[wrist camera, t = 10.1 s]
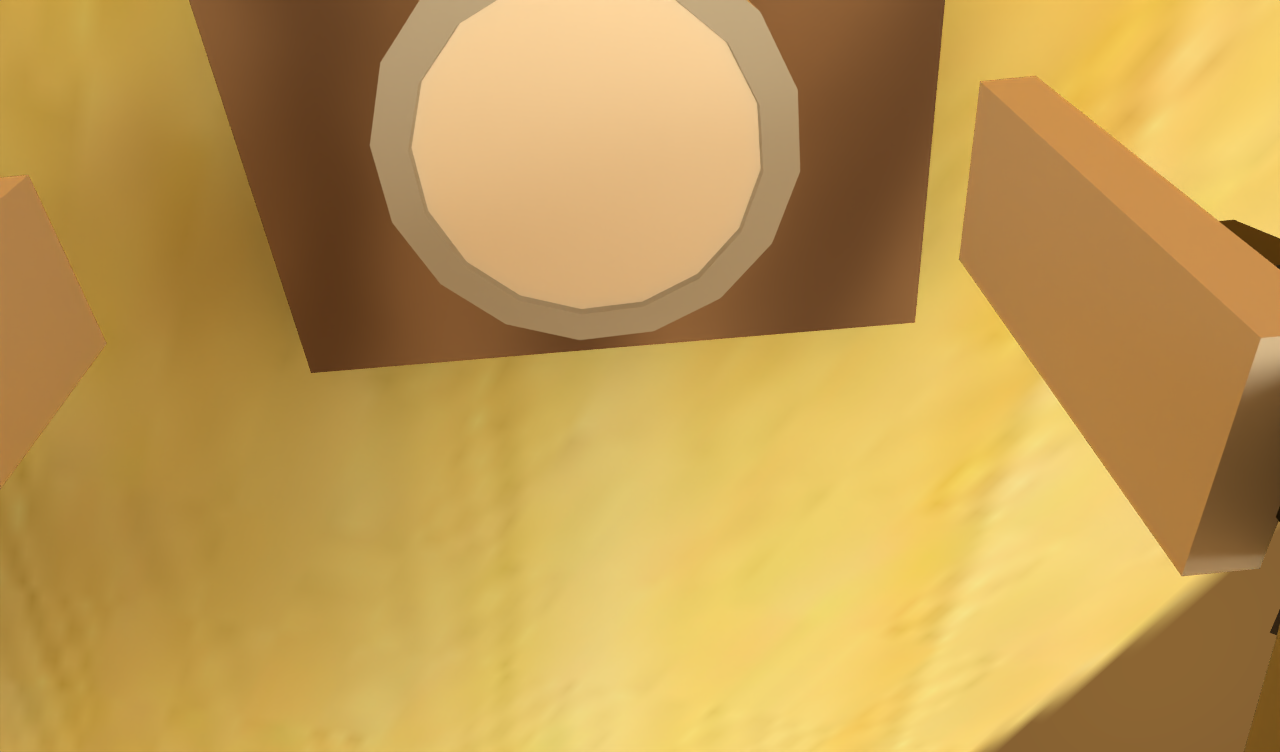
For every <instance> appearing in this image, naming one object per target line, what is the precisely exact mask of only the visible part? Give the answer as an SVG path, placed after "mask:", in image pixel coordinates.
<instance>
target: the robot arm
mask: <svg viewBox="0 0 1280 752" xmlns="http://www.w3.org/2000/svg"><path fill="white" fill-rule="evenodd" d="M959 260H960V261H961V263H962V264H963V266H964V267H965V268H966V270H967V271H968V273H969V274H970V276H971V277H972V278H973V280H974V281H975V283H976V284H977V286H978V287H979V288H980V290H981V291H982V293H983V294H984V295H985V297H986V298H987V300H988V301H989V303H990V304H991V305H992V307H993V308H994V310H995V311H996V313H997V314H998V315H999V317H1000V318H1001V320H1002V321H1003V323H1004V324H1005V325H1006V327H1007V328H1008V330H1009V331H1010V332H1011V334H1012V335H1013V337H1014V338H1015V340H1016V341H1017V342H1018V344H1019V345H1020V347H1021V348H1022V350H1023V351H1024V352H1025V354H1026V355H1027V357H1028V358H1029V360H1030V361H1031V362H1032V364H1033V365H1034V367H1035V368H1036V369H1037V371H1038V372H1039V374H1040V375H1041V377H1042V378H1043V379H1044V381H1045V382H1046V384H1047V385H1048V387H1049V388H1050V389H1051V391H1052V392H1053V394H1054V395H1055V397H1056V398H1057V399H1058V401H1059V402H1060V404H1061V405H1062V406H1063V408H1064V409H1065V411H1066V412H1067V414H1068V415H1069V416H1070V418H1071V419H1072V421H1073V422H1074V424H1075V425H1076V426H1077V428H1078V429H1079V431H1080V432H1081V434H1082V435H1083V436H1084V438H1085V439H1086V441H1087V442H1088V443H1089V445H1090V446H1091V448H1092V449H1093V451H1094V452H1095V453H1096V455H1097V456H1098V458H1099V459H1100V461H1101V462H1102V463H1103V465H1104V466H1105V468H1106V469H1107V470H1108V472H1109V473H1110V475H1111V476H1112V478H1113V479H1114V480H1115V482H1116V483H1117V485H1118V486H1119V488H1120V489H1121V490H1122V492H1123V493H1124V495H1125V496H1126V498H1127V499H1128V500H1129V502H1130V503H1131V505H1132V506H1133V507H1134V509H1135V510H1136V512H1137V513H1138V515H1139V516H1140V517H1141V519H1142V520H1143V522H1144V523H1145V525H1146V526H1147V527H1148V529H1149V530H1150V532H1151V533H1152V535H1153V536H1154V537H1155V539H1156V540H1157V542H1158V543H1159V544H1160V546H1161V547H1162V549H1163V550H1164V552H1165V553H1166V554H1167V556H1168V557H1169V559H1170V560H1171V562H1172V563H1173V564H1174V566H1175V567H1176V569H1177V570H1178V572H1179V573H1180V574H1181V576H1189V575H1199V574H1209V573H1219V572H1229V571H1239V570H1249V569H1258V568H1260V567H1261V564H1262V561H1263V559H1264V557H1265V554H1266V551H1267V549H1268V546H1269V544H1270V541H1271V538H1272V536H1273V534H1274V531H1275V529H1276V526H1277V524H1278V521H1279V522H1280V239H1279V238H1277V237H1274V236H1272V235H1270V234H1267V233H1265V232H1262V231H1260V230H1257V229H1255V228H1253V227H1250V226H1248V225H1245V224H1243V223H1240V222H1238V221H1236V220H1227V221H1218V220H1217V219H1215V218H1214V217H1213V216H1212V215H1210V214H1209V213H1208V212H1206V211H1205V210H1204V209H1203V208H1201V207H1200V206H1199V205H1198V204H1196V203H1195V202H1194V201H1193V200H1191V199H1190V198H1189V197H1188V196H1186V195H1185V194H1184V193H1183V192H1181V191H1180V190H1179V189H1178V188H1176V187H1175V186H1174V185H1172V184H1171V183H1170V182H1169V181H1167V180H1166V179H1165V178H1164V177H1162V176H1161V175H1160V174H1159V173H1157V172H1156V171H1155V170H1154V169H1152V168H1151V167H1150V166H1149V165H1147V164H1146V163H1145V162H1144V161H1142V160H1141V159H1140V158H1138V157H1137V156H1136V155H1135V154H1133V153H1132V152H1131V151H1130V150H1128V149H1127V148H1126V147H1125V146H1123V145H1122V144H1121V143H1120V142H1118V141H1117V140H1116V139H1115V138H1113V137H1112V136H1111V135H1109V134H1108V133H1107V132H1106V131H1104V130H1103V129H1102V128H1101V127H1099V126H1098V125H1097V124H1096V123H1094V122H1093V121H1092V120H1091V119H1089V118H1088V117H1087V116H1086V115H1084V114H1083V113H1082V112H1081V111H1079V110H1078V109H1077V108H1075V107H1074V106H1073V105H1072V104H1070V103H1069V102H1068V101H1067V100H1065V99H1064V98H1063V97H1062V96H1060V95H1059V94H1058V93H1057V92H1055V91H1054V90H1053V89H1052V88H1050V87H1049V86H1048V85H1046V84H1045V83H1044V82H1043V81H1041V80H1040V79H1039V78H1038V77H1036V76H1030V77H1019V78H1009V79H999V80H989V81H980V88H979V96H978V105H977V113H976V122H975V130H974V138H973V147H972V155H971V164H970V172H969V181H968V189H967V197H966V206H965V214H964V223H963V231H962V240H961V248H960V256H959ZM105 345H106V341H105V339H104V337H103V335H102V333H101V331H100V328H99V326H98V324H97V322H96V320H95V318H94V316H93V313H92V311H91V309H90V307H89V305H88V303H87V300H86V298H85V296H84V294H83V292H82V290H81V287H80V285H79V283H78V281H77V279H76V277H75V274H74V272H73V270H72V268H71V266H70V264H69V262H68V259H67V257H66V255H65V253H64V251H63V249H62V246H61V244H60V242H59V240H58V238H57V236H56V233H55V231H54V229H53V227H52V225H51V223H50V221H49V218H48V216H47V214H46V212H45V210H44V208H43V205H42V203H41V201H40V199H39V197H38V195H37V192H36V190H35V188H34V186H33V184H32V182H31V179H30V177H29V175H22V176H11V177H1V178H0V489H1V488H2V486H3V485H4V483H5V482H6V481H7V479H8V478H9V477H10V475H11V474H12V472H13V471H14V470H15V468H16V467H17V466H18V464H19V463H20V461H21V460H22V459H23V457H24V456H25V455H26V453H27V452H28V451H29V449H30V448H31V446H32V445H33V444H34V442H35V441H36V440H37V438H38V437H39V435H40V434H41V433H42V431H43V430H44V429H45V427H46V426H47V424H48V423H49V422H50V420H51V419H52V418H53V416H54V415H55V414H56V412H57V411H58V409H59V408H60V407H61V405H62V404H63V403H64V401H65V400H66V398H67V397H68V396H69V394H70V393H71V392H72V390H73V389H74V387H75V386H76V385H77V383H78V382H79V381H80V379H81V378H82V376H83V375H84V374H85V372H86V371H87V370H88V368H89V367H90V366H91V364H92V363H93V361H94V360H95V359H96V357H97V356H98V355H99V353H100V352H101V350H102V349H103V348H104V346H105ZM1270 633H1272V634H1275V635H1277V637H1276V641H1275V644H1274V647H1273V651H1272V654H1271V658H1270V661H1269V665H1268V668H1267V672H1266V675H1265V679H1264V682H1263V686H1262V689H1261V693H1260V696H1259V700H1258V704H1257V707H1256V710H1255V714H1254V718H1253V721H1252V725H1251V728H1250V732H1249V735H1248V739H1247V742H1246V746H1245V749H1244V752H1280V610H1279V613H1278V615H1277V618H1276V620H1275V622H1274V625H1273V627H1272V629H1271V631H1270Z"/></svg>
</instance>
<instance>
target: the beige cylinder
mask: <svg viewBox="0 0 1280 752" xmlns="http://www.w3.org/2000/svg"><path fill="white" fill-rule="evenodd" d="M370 148H371V152H372V155H373V158H374V162H375V165H376V169H377V172H378V176H379V179H380V182H381V186H382V189H383V193H384V196H385V200H386V203H387V206H388V210H389V213H390V217H391V220H392V223H393V224H394V225H395V227H396V228H397V229H398V231H399V232H400V233H401V234H402V236H403V237H404V238H405V239H406V241H407V242H408V243H409V245H410V246H411V247H412V248H413V250H414V251H415V252H416V253H417V255H418V256H419V257H420V259H421V260H422V261H423V262H424V264H425V265H426V266H427V268H428V269H429V270H430V271H431V273H432V274H433V275H434V276H435V278H436V279H437V280H438V282H439V283H440V284H441V285H443V286H444V287H446V288H448V289H449V290H451V291H453V292H454V293H456V294H457V295H459V296H461V297H462V298H464V299H466V300H467V301H469V302H471V303H472V304H474V305H475V306H477V307H479V308H480V309H482V310H484V311H485V312H487V313H488V314H490V315H492V316H493V317H495V318H497V319H498V320H500V321H501V322H503V323H505V324H507V325H512V326H517V327H521V328H526V329H530V330H535V331H540V332H544V333H549V334H553V335H558V336H563V337H567V338H572V339H577V340H585V339H593V338H602V337H610V336H618V335H627V334H635V333H644V332H652V331H655V330H657V329H659V328H661V327H663V326H665V325H667V324H669V323H671V322H674V321H676V320H678V319H680V318H682V317H684V316H686V315H688V314H690V313H692V312H694V311H696V310H698V309H700V308H702V307H704V306H706V305H708V304H710V303H712V302H714V301H716V300H718V299H720V298H721V297H722V296H723V295H724V294H725V293H726V292H727V291H728V290H729V289H730V288H731V287H732V285H733V284H734V283H735V282H736V281H737V280H738V279H739V278H740V277H741V276H742V275H743V274H744V273H745V272H746V271H747V270H748V268H749V267H750V266H751V265H752V264H753V263H754V262H755V261H756V260H757V259H758V258H759V257H760V256H761V255H762V254H763V252H764V251H765V250H766V249H767V248H768V247H769V246H770V245H771V244H772V242H773V240H774V237H775V235H776V232H777V229H778V227H779V224H780V222H781V219H782V217H783V214H784V211H785V209H786V206H787V204H788V201H789V199H790V196H791V194H792V191H793V188H794V186H795V183H796V181H797V178H798V176H799V173H800V147H799V115H798V89H797V87H796V85H795V83H794V81H793V79H792V77H791V75H790V73H789V71H788V69H787V66H786V64H785V62H784V60H783V58H782V56H781V54H780V52H779V50H778V48H777V46H776V43H775V41H774V39H773V37H772V35H771V33H770V31H769V29H768V27H767V25H766V23H765V20H764V18H763V16H762V14H761V12H760V11H759V10H758V9H757V8H756V7H755V6H754V5H753V4H752V3H751V2H750V1H749V0H419V2H418V4H417V5H416V7H415V8H414V10H413V12H412V13H411V15H410V16H409V18H408V19H407V21H406V23H405V24H404V26H403V27H402V29H401V31H400V32H399V34H398V35H397V37H396V39H395V40H394V42H393V43H392V45H391V47H390V48H389V50H388V51H387V53H386V54H385V56H384V58H383V59H382V61H381V62H380V69H379V77H378V85H377V93H376V100H375V108H374V116H373V124H372V132H371V139H370Z"/></svg>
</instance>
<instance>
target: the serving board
mask: <svg viewBox="0 0 1280 752" xmlns="http://www.w3.org/2000/svg"><path fill="white" fill-rule="evenodd" d="M749 1H750V2H751V3H752V4H753V5H754V6H755V7H756V8H757V9H758V10H759V11H760V12H761V14H762V16H763V18H764V20H765V23H766V25H767V27H768V29H769V31H770V33H771V35H772V37H773V39H774V41H775V43H776V46H777V48H778V50H779V52H780V54H781V56H782V58H783V60H784V62H785V64H786V66H787V69H788V71H789V73H790V75H791V77H792V79H793V81H794V83H795V85H796V87H797V89H798V115H799V147H800V173H799V176H798V178H797V181H796V183H795V186H794V188H793V191H792V194H791V196H790V199H789V201H788V204H787V206H786V209H785V211H784V214H783V217H782V219H781V222H780V224H779V227H778V229H777V232H776V235H775V237H774V240H773V242H772V244H771V245H770V246H769V247H768V248H767V249H766V250H765V251H764V252H763V254H762V255H761V256H760V257H759V258H758V259H757V260H756V261H755V262H754V263H753V264H752V265H751V266H750V267H749V268H748V270H747V271H746V272H745V273H744V274H743V275H742V276H741V277H740V278H739V279H738V280H737V281H736V282H735V283H734V284H733V285H732V287H731V288H730V289H729V290H728V291H727V292H726V293H725V294H724V295H723V296H722V297H721V298H720V299H718V300H716V301H714V302H712V303H710V304H708V305H706V306H704V307H702V308H700V309H698V310H696V311H694V312H692V313H690V314H688V315H686V316H684V317H682V318H680V319H678V320H676V321H674V322H671V323H669V324H667V325H665V326H663V327H661V328H659V329H657V330H655V331H652V332H644V333H635V334H627V335H618V336H610V337H602V338H593V339H585V340H577V339H572V338H567V337H563V336H558V335H553V334H549V333H544V332H540V331H535V330H530V329H526V328H521V327H517V326H512V325H507V324H505V323H503V322H501V321H500V320H498V319H497V318H495V317H493V316H492V315H490V314H488V313H487V312H485V311H484V310H482V309H480V308H479V307H477V306H475V305H474V304H472V303H471V302H469V301H467V300H466V299H464V298H462V297H461V296H459V295H457V294H456V293H454V292H453V291H451V290H449V289H448V288H446V287H444V286H443V285H441V284H440V283H439V282H438V280H437V279H436V278H435V276H434V275H433V274H432V273H431V271H430V270H429V269H428V268H427V266H426V265H425V264H424V262H423V261H422V260H421V259H420V257H419V256H418V255H417V253H416V252H415V251H414V250H413V248H412V247H411V246H410V245H409V243H408V242H407V241H406V239H405V238H404V237H403V236H402V234H401V233H400V232H399V231H398V229H397V228H396V227H395V225H394V224H393V223H392V220H391V217H390V213H389V210H388V206H387V203H386V200H385V196H384V193H383V189H382V186H381V182H380V179H379V176H378V172H377V169H376V165H375V162H374V158H373V155H372V152H371V148H370V139H371V132H372V124H373V116H374V108H375V100H376V93H377V85H378V77H379V69H380V62H381V61H382V59H383V58H384V56H385V54H386V53H387V51H388V50H389V48H390V47H391V45H392V43H393V42H394V40H395V39H396V37H397V35H398V34H399V32H400V31H401V29H402V27H403V26H404V24H405V23H406V21H407V19H408V18H409V16H410V15H411V13H412V12H413V10H414V8H415V7H416V5H417V4H418V2H419V0H189V2H190V5H191V8H192V11H193V14H194V17H195V20H196V23H197V26H198V29H199V32H200V35H201V38H202V41H203V44H204V47H205V50H206V53H207V56H208V60H209V63H210V66H211V69H212V72H213V75H214V78H215V81H216V84H217V87H218V90H219V93H220V96H221V99H222V102H223V105H224V108H225V111H226V114H227V117H228V121H229V124H230V127H231V130H232V133H233V136H234V139H235V142H236V145H237V148H238V151H239V154H240V157H241V160H242V163H243V166H244V169H245V172H246V175H247V178H248V182H249V185H250V188H251V191H252V194H253V197H254V200H255V203H256V206H257V209H258V212H259V215H260V218H261V221H262V224H263V227H264V230H265V233H266V236H267V239H268V243H269V246H270V249H271V252H272V255H273V258H274V261H275V264H276V267H277V270H278V273H279V276H280V279H281V282H282V285H283V288H284V291H285V294H286V297H287V300H288V304H289V307H290V310H291V313H292V316H293V319H294V322H295V325H296V328H297V331H298V334H299V337H300V340H301V343H302V346H303V349H304V352H305V355H306V358H307V361H308V365H309V368H310V371H311V373H315V372H327V371H339V370H351V369H363V368H375V367H387V366H399V365H411V364H423V363H435V362H447V361H459V360H471V359H483V358H495V357H507V356H519V355H531V354H543V353H555V352H567V351H579V350H591V349H603V348H615V347H627V346H639V345H651V344H663V343H675V342H687V341H699V340H711V339H723V338H735V337H747V336H759V335H771V334H783V333H795V332H807V331H819V330H831V329H843V328H855V327H866V326H878V325H890V324H902V323H914V322H915V316H916V305H917V294H918V284H919V273H920V262H921V252H922V241H923V230H924V219H925V209H926V198H927V187H928V176H929V166H930V155H931V144H932V133H933V123H934V112H935V101H936V90H937V80H938V69H939V58H940V48H941V37H942V26H943V15H944V5H945V0H749Z"/></svg>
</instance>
